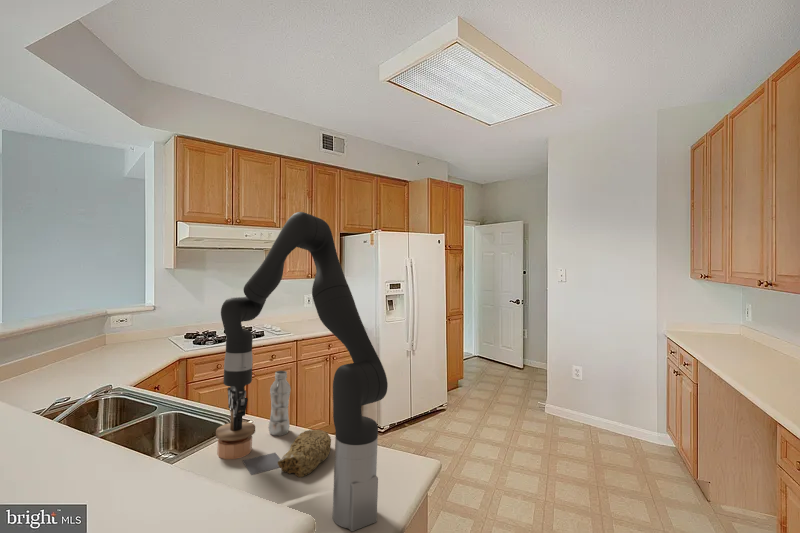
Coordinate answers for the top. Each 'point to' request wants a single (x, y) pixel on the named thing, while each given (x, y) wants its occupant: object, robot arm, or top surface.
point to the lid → (230, 434)
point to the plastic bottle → (279, 405)
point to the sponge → (306, 453)
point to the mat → (262, 463)
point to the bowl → (234, 448)
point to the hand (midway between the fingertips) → (235, 427)
